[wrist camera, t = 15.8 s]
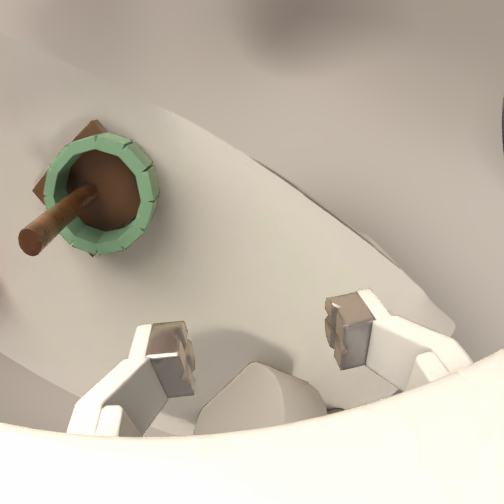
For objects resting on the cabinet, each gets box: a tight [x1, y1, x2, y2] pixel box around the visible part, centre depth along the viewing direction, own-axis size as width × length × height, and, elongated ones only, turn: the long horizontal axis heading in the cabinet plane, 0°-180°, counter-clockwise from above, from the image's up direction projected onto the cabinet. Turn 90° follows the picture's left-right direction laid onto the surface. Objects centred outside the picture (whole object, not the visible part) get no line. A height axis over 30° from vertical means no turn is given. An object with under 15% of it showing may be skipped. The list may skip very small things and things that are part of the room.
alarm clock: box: [193, 362, 327, 435], centre depth 35 cm, size 21×8×20 cm, turn 143°
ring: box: [43, 133, 159, 255], centre depth 26 cm, size 11×11×3 cm
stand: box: [18, 120, 160, 257], centre depth 22 cm, size 10×10×14 cm
